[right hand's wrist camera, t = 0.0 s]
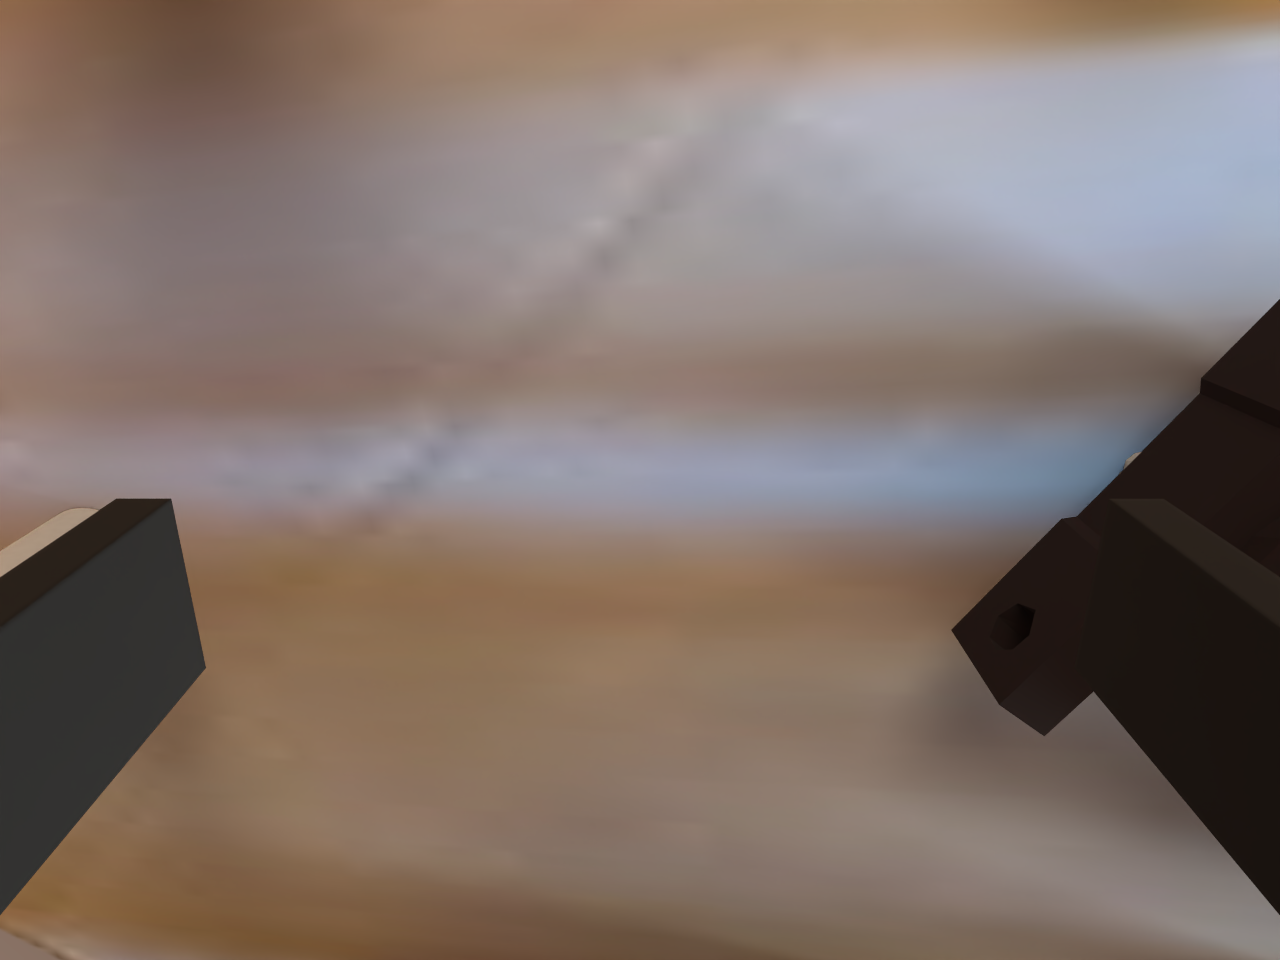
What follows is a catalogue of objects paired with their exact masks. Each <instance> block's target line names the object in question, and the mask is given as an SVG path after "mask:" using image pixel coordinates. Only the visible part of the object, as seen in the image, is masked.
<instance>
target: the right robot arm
mask: <svg viewBox="0 0 1280 960" xmlns="http://www.w3.org/2000/svg"><path fill="white" fill-rule="evenodd" d="M205 668H206V666H205V661H204V656H203V652H202V647H201V642H200V637H199V632H198V627H197V622H196V617H195V613H194V608H193V603H192V598H191V593H190V588H189V583H188V579H187V574H186V569H185V564H184V559H183V554H182V549H181V545H180V540H179V535H178V530H177V525H176V520H175V515H174V510H173V506H172V501H171V499H115V500H114V501H112V502H111V503H109V504H108V505H106V506H105V507H103V508H102V509H100V510H99V511H97V512H96V513H95V514H93V515H92V516H90V517H89V518H87V519H86V520H84V521H83V522H81V523H80V524H78V525H77V526H75V527H74V528H72V529H71V530H69V531H68V532H66V533H65V534H63V535H62V536H60V537H59V538H57V539H56V540H54V541H53V542H51V543H50V544H49V545H47V546H46V547H44V548H43V549H41V550H40V551H38V552H37V553H35V554H34V555H32V556H31V557H29V558H28V559H26V560H25V561H23V562H22V563H20V564H19V565H17V566H16V567H14V568H13V569H11V570H10V571H8V572H7V573H5V574H4V575H3V576H1V577H0V915H1V913H2V912H3V911H4V910H5V909H6V907H7V906H8V905H9V904H10V903H11V901H12V900H13V899H14V898H15V897H16V895H17V894H18V893H19V892H20V891H21V889H22V888H23V887H24V886H25V885H26V883H27V882H28V881H29V880H30V879H31V877H32V876H33V875H34V874H35V873H36V871H37V870H38V869H39V868H40V867H41V865H42V864H43V863H44V862H45V861H46V859H47V858H48V857H49V856H50V855H51V853H52V852H53V851H54V850H55V849H56V847H57V846H58V845H59V844H60V843H61V841H62V840H63V839H64V838H65V837H66V835H67V834H68V833H69V832H70V831H71V829H72V828H73V827H74V826H75V825H76V823H77V822H78V821H79V820H80V819H81V817H82V816H83V815H84V814H85V812H86V811H87V810H88V809H89V808H90V806H91V805H92V804H93V803H94V802H95V800H96V799H97V798H98V797H99V796H100V794H101V793H102V792H103V791H104V790H105V788H106V787H107V786H108V785H109V784H110V782H111V781H112V780H113V779H114V778H115V776H116V775H117V774H118V773H119V772H120V770H121V769H122V768H123V767H124V766H125V764H126V763H127V762H128V761H129V760H130V758H131V757H132V756H133V755H134V754H135V752H136V751H137V750H138V749H139V748H140V746H141V745H142V744H143V743H144V742H145V740H146V739H147V738H148V737H149V736H150V734H151V733H152V732H153V731H154V730H155V728H156V727H157V726H158V725H159V724H160V722H161V721H162V720H163V719H164V718H165V716H166V715H167V714H168V713H169V712H170V710H171V709H172V708H173V707H174V705H175V704H176V703H177V702H178V701H179V699H180V698H181V697H182V696H183V695H184V693H185V692H186V691H187V690H188V689H189V687H190V686H191V685H192V684H193V683H194V681H195V680H196V679H197V678H198V677H199V675H200V674H201V673H202V672H203V671H204V669H205ZM1074 668H1075V669H1076V671H1077V672H1078V673H1079V674H1080V675H1081V677H1082V678H1083V679H1084V680H1085V681H1086V683H1087V684H1088V685H1089V686H1090V687H1091V689H1092V690H1093V691H1094V692H1095V693H1096V695H1097V696H1098V697H1099V698H1100V699H1101V701H1102V702H1103V703H1104V704H1105V705H1106V707H1107V708H1108V709H1109V710H1110V712H1111V713H1112V714H1113V715H1114V716H1115V718H1116V719H1117V720H1118V721H1119V722H1120V724H1121V725H1122V726H1123V727H1124V728H1125V730H1126V731H1127V732H1128V733H1129V734H1130V736H1131V737H1132V738H1133V739H1134V740H1135V742H1136V743H1137V744H1138V745H1139V746H1140V748H1141V749H1142V750H1143V751H1144V752H1145V754H1146V755H1147V756H1148V757H1149V758H1150V760H1151V761H1152V762H1153V763H1154V764H1155V766H1156V767H1157V768H1158V769H1159V770H1160V772H1161V773H1162V774H1163V775H1164V776H1165V778H1166V779H1167V780H1168V781H1169V782H1170V784H1171V785H1172V786H1173V787H1174V788H1175V790H1176V791H1177V792H1178V793H1179V794H1180V796H1181V797H1182V798H1183V799H1184V800H1185V802H1186V803H1187V804H1188V805H1189V806H1190V808H1191V809H1192V810H1193V811H1194V812H1195V814H1196V815H1197V816H1198V817H1199V819H1200V820H1201V821H1202V822H1203V823H1204V825H1205V826H1206V827H1207V828H1208V829H1209V831H1210V832H1211V833H1212V834H1213V835H1214V837H1215V838H1216V839H1217V840H1218V841H1219V843H1220V844H1221V845H1222V846H1223V847H1224V849H1225V850H1226V851H1227V852H1228V853H1229V855H1230V856H1231V857H1232V858H1233V859H1234V861H1235V862H1236V863H1237V864H1238V865H1239V867H1240V868H1241V869H1242V870H1243V871H1244V873H1245V874H1246V875H1247V876H1248V877H1249V879H1250V880H1251V881H1252V882H1253V883H1254V885H1255V886H1256V887H1257V888H1258V889H1259V891H1260V892H1261V893H1262V894H1263V895H1264V897H1265V898H1266V899H1267V900H1268V901H1269V903H1270V904H1271V905H1272V906H1273V907H1274V909H1275V910H1276V911H1277V912H1278V913H1279V915H1280V577H1279V576H1277V575H1276V574H1275V573H1273V572H1272V571H1270V570H1269V569H1267V568H1266V567H1264V566H1263V565H1261V564H1260V563H1258V562H1257V561H1255V560H1254V559H1252V558H1251V557H1249V556H1248V555H1246V554H1245V553H1243V552H1242V551H1240V550H1239V549H1237V548H1236V547H1234V546H1233V545H1231V544H1230V543H1229V542H1227V541H1226V540H1224V539H1223V538H1221V537H1220V536H1218V535H1217V534H1215V533H1214V532H1212V531H1211V530H1209V529H1208V528H1206V527H1205V526H1203V525H1202V524H1200V523H1199V522H1197V521H1196V520H1194V519H1193V518H1191V517H1190V516H1188V515H1187V514H1185V513H1184V512H1183V511H1181V510H1180V509H1178V508H1177V507H1175V506H1174V505H1172V504H1171V503H1169V502H1168V501H1166V500H1165V499H1109V501H1108V506H1107V510H1106V515H1105V520H1104V525H1103V530H1102V535H1101V540H1100V545H1099V549H1098V554H1097V559H1096V564H1095V569H1094V574H1093V579H1092V583H1091V588H1090V593H1089V598H1088V603H1087V608H1086V613H1085V617H1084V622H1083V627H1082V632H1081V637H1080V642H1079V647H1078V652H1077V656H1076V661H1075V666H1074Z"/></svg>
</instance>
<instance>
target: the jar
mask: <svg viewBox="0 0 1280 960" xmlns="http://www.w3.org/2000/svg"><path fill="white" fill-rule="evenodd" d="M97 511H99V510H96V509H90V508H74V509H70V510H66V511H64V512H61V513H60V514H58V515H56V516H55V517H53V518H52V519H50V520H48V521H47V522H45V523H44V524H42V525H41V526H39V527H37V528H36V529H34V530H33V531H31V532H29V533H28V534H26V535H25V536H23V537H22V538H20V539H18V540H17V541H15V542H14V543H12V544H11V545H9V546H7V547H6V548H4V549H3V550H1V551H0V577H1V576H3V575H4V574H5V573H7V572H8V571H10V570H11V569H13V568H14V567H16V566H17V565H19V564H20V563H22V562H23V561H25V560H26V559H28V558H29V557H31V556H32V555H34V554H35V553H37V552H38V551H40V550H41V549H43V548H44V547H46V546H47V545H49V544H50V543H51V542H53V541H54V540H56V539H57V538H59V537H60V536H62V535H63V534H65V533H66V532H68V531H69V530H71V529H72V528H74V527H75V526H77V525H78V524H80V523H81V522H83V521H84V520H86V519H87V518H89V517H90V516H92V515H93V514H95V513H96V512H97Z"/></svg>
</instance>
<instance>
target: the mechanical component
mask: <svg viewBox="0 0 1280 960" xmlns="http://www.w3.org/2000/svg"><path fill="white" fill-rule="evenodd" d="M1109 499H1165V500H1166V501H1168V502H1169V503H1171V504H1172V505H1174V506H1175V507H1177V508H1178V509H1180V510H1181V511H1183V512H1184V513H1185V514H1187V515H1188V516H1190V517H1191V518H1193V519H1194V520H1196V521H1197V522H1199V523H1200V524H1202V525H1203V526H1205V527H1206V528H1208V529H1209V530H1211V531H1212V532H1214V533H1215V534H1217V535H1218V536H1220V537H1221V538H1223V539H1224V540H1226V541H1227V542H1229V543H1230V544H1231V545H1233V546H1234V547H1236V548H1237V549H1239V550H1240V551H1242V552H1243V553H1245V554H1246V555H1248V556H1249V557H1251V558H1252V559H1254V560H1255V561H1257V562H1258V563H1260V564H1261V565H1263V566H1264V567H1266V568H1267V569H1269V570H1270V571H1272V572H1273V573H1275V574H1276V575H1277V576H1279V577H1280V299H1279V300H1278V301H1277V302H1276V303H1275V304H1274V305H1273V307H1272V308H1271V309H1270V310H1269V311H1268V312H1267V313H1266V314H1265V315H1264V316H1263V317H1262V318H1261V319H1260V320H1259V321H1258V322H1257V323H1256V324H1255V325H1254V326H1253V327H1252V328H1251V329H1250V330H1249V331H1248V332H1247V333H1246V334H1245V335H1244V336H1243V337H1242V338H1241V339H1240V340H1239V341H1238V342H1237V343H1236V344H1235V345H1234V346H1233V347H1232V348H1231V349H1230V350H1229V351H1228V352H1227V353H1226V354H1225V355H1224V356H1223V357H1222V358H1221V359H1220V360H1219V361H1218V362H1217V363H1216V364H1215V365H1214V366H1213V367H1212V368H1211V369H1210V370H1209V371H1208V372H1207V373H1206V374H1205V375H1204V376H1203V377H1202V378H1201V388H1200V394H1199V395H1198V396H1197V397H1196V398H1195V399H1194V400H1193V401H1192V402H1191V403H1190V404H1189V405H1188V406H1187V407H1186V408H1185V409H1184V410H1183V411H1182V412H1181V413H1180V414H1179V415H1178V416H1177V417H1176V418H1175V419H1174V420H1173V421H1172V422H1171V423H1170V424H1169V425H1168V426H1167V427H1166V428H1165V429H1164V430H1163V431H1162V432H1161V433H1160V434H1159V435H1158V436H1157V437H1156V438H1155V439H1154V440H1153V441H1152V442H1151V443H1150V444H1149V445H1148V446H1147V447H1146V448H1145V449H1144V450H1143V451H1142V452H1138V453H1135V454H1133V455H1132V456H1131V457H1130V458H1128V459H1127V460H1126V461H1125V465H1124V470H1123V471H1122V472H1121V473H1119V475H1118V476H1117V477H1116V478H1115V479H1114V480H1113V481H1112V482H1111V483H1110V484H1109V485H1108V486H1107V487H1106V488H1105V489H1104V490H1103V491H1102V492H1101V493H1100V494H1099V495H1098V496H1097V497H1096V498H1095V499H1094V500H1093V501H1092V502H1091V503H1090V504H1089V505H1088V506H1087V507H1086V508H1085V509H1084V510H1083V511H1082V512H1081V513H1080V514H1079V515H1078V516H1077V517H1071V518H1064V519H1061V520H1060V521H1059V522H1058V523H1057V524H1056V525H1055V526H1054V527H1053V528H1052V529H1051V530H1050V531H1049V532H1048V533H1047V534H1046V535H1045V536H1044V537H1043V538H1042V539H1041V540H1040V541H1039V542H1038V543H1037V544H1036V545H1035V546H1034V547H1033V548H1032V549H1031V550H1030V551H1029V552H1028V553H1027V554H1026V555H1025V556H1024V557H1023V558H1022V559H1021V560H1020V561H1019V562H1018V563H1017V564H1016V565H1015V566H1014V567H1013V568H1012V569H1011V570H1010V571H1009V572H1008V573H1007V574H1006V575H1005V576H1004V577H1003V578H1002V579H1001V580H1000V581H999V582H998V583H997V584H996V585H995V586H994V587H993V588H992V589H991V590H990V591H989V593H988V594H987V595H986V596H985V597H984V598H983V599H982V600H981V601H980V602H979V603H978V604H977V605H976V606H975V607H974V608H973V609H972V610H971V611H970V612H969V613H968V614H967V615H966V616H965V617H964V618H963V619H962V620H961V621H960V622H959V623H958V624H957V625H956V626H955V627H954V628H953V629H952V632H953V633H954V635H955V637H956V638H957V640H958V641H959V643H960V644H961V646H962V647H963V649H964V651H965V652H966V654H967V655H968V657H969V658H970V660H971V661H972V663H973V665H974V666H975V668H976V669H977V671H978V672H979V674H980V675H981V677H982V679H983V680H984V682H985V683H986V685H987V686H988V688H989V689H990V691H991V693H992V694H993V696H994V697H995V699H996V700H997V702H998V703H999V705H1000V706H1002V707H1003V708H1005V709H1006V710H1008V711H1009V712H1010V713H1012V714H1013V715H1015V716H1016V717H1018V718H1019V719H1020V720H1022V721H1023V722H1025V723H1026V724H1028V725H1029V726H1030V727H1032V728H1033V729H1035V730H1036V731H1038V732H1039V733H1040V734H1042V735H1043V736H1045V735H1046V734H1047V733H1048V732H1049V731H1051V730H1052V729H1053V728H1054V727H1055V726H1056V725H1057V724H1058V723H1059V722H1060V721H1062V720H1063V719H1064V718H1065V717H1066V716H1067V715H1068V714H1069V713H1070V712H1071V711H1072V710H1074V709H1075V708H1076V707H1077V706H1078V705H1079V704H1080V703H1081V702H1082V701H1083V700H1085V699H1086V698H1087V697H1088V696H1089V695H1090V694H1091V693H1092V692H1093V690H1092V689H1091V687H1090V686H1089V685H1088V684H1087V683H1086V681H1085V680H1084V679H1083V678H1082V677H1081V675H1080V674H1079V673H1078V672H1077V671H1076V669H1075V668H1074V666H1075V661H1076V656H1077V652H1078V647H1079V642H1080V637H1081V632H1082V627H1083V622H1084V617H1085V613H1086V608H1087V603H1088V598H1089V593H1090V588H1091V583H1092V579H1093V574H1094V569H1095V564H1096V559H1097V554H1098V549H1099V545H1100V540H1101V535H1102V530H1103V525H1104V520H1105V515H1106V510H1107V506H1108V501H1109Z"/></svg>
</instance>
